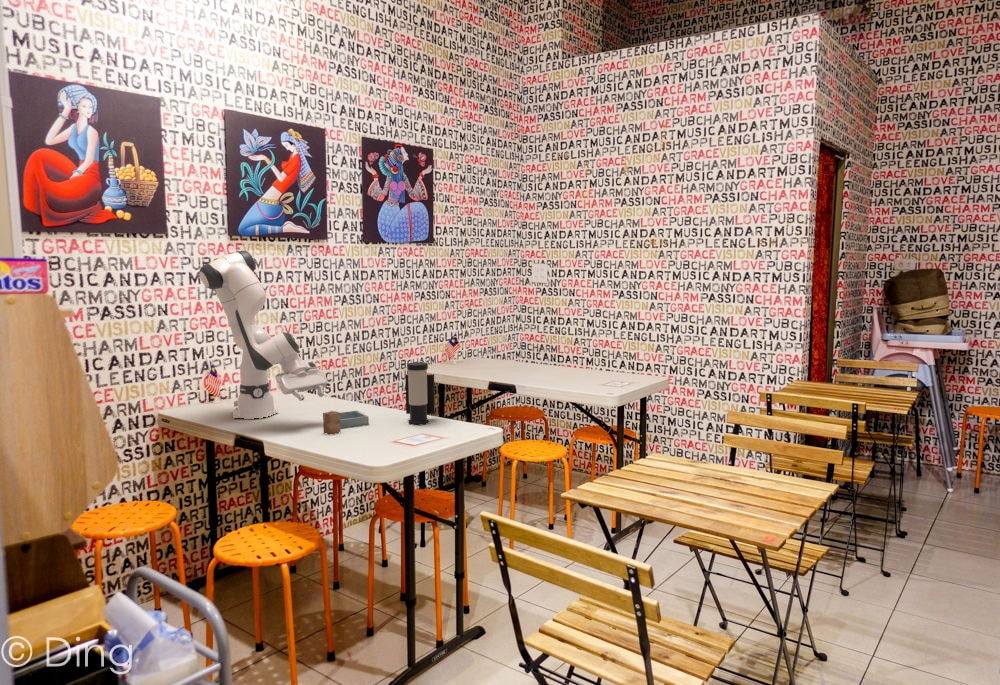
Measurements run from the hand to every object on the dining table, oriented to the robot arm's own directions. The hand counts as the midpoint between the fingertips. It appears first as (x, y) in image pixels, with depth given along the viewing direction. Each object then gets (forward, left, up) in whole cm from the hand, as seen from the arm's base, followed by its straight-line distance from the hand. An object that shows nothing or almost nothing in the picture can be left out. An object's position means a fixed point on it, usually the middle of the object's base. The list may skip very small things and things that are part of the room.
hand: (312, 397), depth 272 cm
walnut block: (+9, +4, -13) cm, 16 cm away
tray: (-2, +14, -13) cm, 19 cm away
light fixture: (+12, +40, -13) cm, 44 cm away
